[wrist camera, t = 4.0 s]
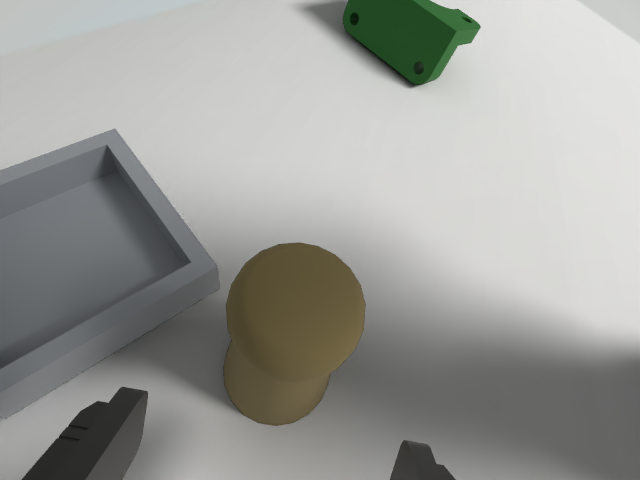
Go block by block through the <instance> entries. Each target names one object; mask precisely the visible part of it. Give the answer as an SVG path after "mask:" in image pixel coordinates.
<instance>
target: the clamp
mask: <svg viewBox="0 0 640 480" xmlns="http://www.w3.org/2000/svg"><path fill="white" fill-rule="evenodd" d="M343 24H344V27H345V29H346V31H347V32H348V33H349V34H351V35H352V36H353V37H354V38H356V39H357V40H358V41H359V42H361V43H362V44H363V45H365V46H366V47H367V48H368V49H370V50H371V51H372V52H374V53H375V54H376V55H377V56H379V57H380V58H381V59H383V60H384V61H385V62H386V63H388V64H389V65H390V66H391V67H393V68H394V69H395V70H397V71H398V72H399V73H400V74H402V75H403V76H404V77H406V78H407V79H408V80H409V81H411V82H412V83H414V84H423V83H426V82H430V81H433V80H435V79H437V78H438V77H439V76H440V74H441V73H442V71H443V70H444V68H445V66H446V65H447V63H448V61H449V60H450V58H451V56H452V55H453V53H454V51H455V50H456V48H457V46H458V45H463V44H468V43H471V42H472V40H473V39H474V37H475V36H476V34H477V32H478V31H479V29H480V25H479V24H478V23H477V22H476V21H475V20H473V19H472V18H471V17H469V16H468V15H466V14H465V13H463V12H462V11H460V10H459V9H448V8H445V7H442V6H440V5H438V4H436V3H434V2H432V1H430V0H348V3H347V6H346V8H345V11H344V14H343Z"/></svg>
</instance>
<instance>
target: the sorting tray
mask: <svg viewBox="0 0 640 480" xmlns="http://www.w3.org/2000/svg"><path fill="white" fill-rule="evenodd" d="M219 288H220V286H219V277H218V267H217V265H216V264H215V263H214V261H213V260H212V258H211V257H210V256H209V254H208V253H207V252H206V250H205V249H204V248H203V246H202V245H201V244H200V242H199V241H198V240H197V238H196V237H195V236H194V234H193V233H192V232H191V230H190V229H189V227H188V226H187V225H186V223H185V222H184V221H183V219H182V218H181V217H180V215H179V214H178V213H177V211H176V210H175V209H174V207H173V206H172V205H171V203H170V202H169V200H168V199H167V198H166V196H165V195H164V194H163V192H162V191H161V190H160V188H159V187H158V186H157V184H156V183H155V182H154V180H153V179H152V178H151V176H150V175H149V174H148V172H147V171H146V169H145V168H144V167H143V165H142V164H141V163H140V161H139V160H138V159H137V157H136V156H135V155H134V153H133V152H132V151H131V149H130V148H129V147H128V145H127V144H126V143H125V141H124V140H123V138H122V137H121V136H120V134H119V133H118V132H117V130H116V129H112V130H110V131H107V132H104V133H101V134H99V135H96V136H93V137H90V138H88V139H85V140H82V141H80V142H77V143H74V144H71V145H69V146H66V147H63V148H60V149H58V150H55V151H52V152H50V153H47V154H44V155H41V156H39V157H36V158H33V159H30V160H28V161H25V162H22V163H20V164H17V165H14V166H11V167H9V168H6V169H3V170H0V418H4V419H6V418H8V417H10V416H11V415H13V414H14V413H16V412H18V411H19V410H21V409H23V408H24V407H26V406H28V405H29V404H31V403H32V402H34V401H36V400H37V399H39V398H41V397H42V396H44V395H46V394H47V393H49V392H51V391H52V390H54V389H55V388H57V387H59V386H60V385H62V384H64V383H65V382H67V381H69V380H70V379H72V378H73V377H75V376H77V375H78V374H80V373H82V372H83V371H85V370H87V369H88V368H90V367H92V366H93V365H95V364H96V363H98V362H100V361H101V360H103V359H105V358H106V357H108V356H110V355H111V354H113V353H114V352H116V351H118V350H119V349H121V348H123V347H124V346H126V345H128V344H129V343H131V342H133V341H134V340H136V339H137V338H139V337H141V336H142V335H144V334H146V333H147V332H149V331H151V330H152V329H154V328H155V327H157V326H159V325H160V324H162V323H164V322H165V321H167V320H169V319H170V318H172V317H174V316H175V315H177V314H178V313H180V312H182V311H183V310H185V309H187V308H188V307H190V306H192V305H193V304H195V303H196V302H198V301H200V300H201V299H203V298H205V297H206V296H208V295H210V294H211V293H213V292H215V291H216V290H218V289H219Z"/></svg>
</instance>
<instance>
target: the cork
mask: <svg viewBox="0 0 640 480" xmlns="http://www.w3.org/2000/svg"><path fill="white" fill-rule="evenodd" d="M226 313H227V325H228V332H229V335H230V337H231V339H232V341H231V343H230V346H229V348H228V351H227V355H226V359H225V363H224V367H223V370H224V384H225V387H226V390H227V392H228V394H229V397H230V399H231V401H232V402H233V404H234V405H235V406H236V407H237V408H238V409H239V410H240V411H241V413H242V414H243V415H245V416H247V417H249V418H251V419H252V420H254V421H256V422H258V423H262V424H268V425H275V426H278V425H283V424H289V423H294V422H296V421H297V420H299V419H301V418H303V417H304V416H306V415H308V414H309V413H310V412H311V411H312V410H313V409H314V408H315V407H316V405H317V404H318V403H319V402H320V401H321V399H322V397H323V395H324V392H325V390H326V388H327V385H328V382H329V378H330V374H331V372H332V371H334V370H336V369H338V368H339V366H340V365H341V364H342V363H343V362H344V361H345V360H346V359H347V358H348V357H349V356H350V354H351V353H352V352H353V351H354V350H355V349H356V346H357V344H358V342H359V339H360V337H361V335H362V332H363V330H364V316H365V301H364V297H363V293H362V289H361V285H360V283H359V282H358V280H357V278H356V277H355V275H354V274H353V272H352V270H351V269H350V268H349V267H348V266H347V265H346V264H345V263H344V262H343V261H342V260H341V259H339V258H338V257H337V256H336V255H335V254H333V253H331V252H329V251H327V250H325V249H323V248H321V247H319V246H314V245H309V244H304V243H288V244H278V245H276V246H273V247H271V248H268V249H265V250H263V251H261V252H259V253H258V254H257V255H255V256H254V257H253V258H252V259H250V260H249V261H248V262H246V263H245V265H244V266H243V268H242V269H241V271H240V272H239V274H238V275H237V277H236V278H235V280H234V281H233V283H232V284H231V288H230V291H229V295H228V299H227V303H226Z"/></svg>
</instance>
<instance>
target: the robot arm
mask: <svg viewBox="0 0 640 480" xmlns="http://www.w3.org/2000/svg"><path fill="white" fill-rule="evenodd" d="M147 400H148V392H147V391H143V390H137V389H132V388H127V387H121V388H120V389H119V390H118V392H117V393H116V394H115V395H114V397H113V398H112V399H111V401H110V402H109V403H106V402H100V401H97V402H95V403H94V404H92V405H90V406H89V407H87V408H85V409H83V410H82V411H80V412H79V414H78V415H77V416H76V417H75V418H74V419H73V421H72V422H71V423H70V424H69V426H68V427H67V428H66V429H65V430H64V431H63V432H62V433H61V434H60V436H59V438H58V439H56V440H55V441H54V443H53V444H52V445H51V446H50V447H49V448H48V450H47V451H46V452H45V453H44V454H43V455H42V457H41V458H40V459H39V460H38V461H37V462H36V463H35V465H34V466H33V467H32V468H31V469H30V470H29V472H28V473H27V474H26V475H25V476H24V477H23V479H22V480H122V478H123V477H124V475H125V473H126V471H127V469H128V468H129V466H130V464H131V462H132V461H133V459H134V457H135V455H136V453H137V451H138V448H139V445H140V442H141V438H142V434H143V427H144V420H145V413H146V407H147ZM390 480H455V479H454V477H453V476H452V475H451V474H450V473H449V471H448V470H447V469H446V468H445V466H444V465H439V464H436V462H435V459H434V457H433V454H432V452H431V449H430V447H429V445H427V444H422V443H417V442H412V441H406V440H404V441H403V442H402V444H401V446H400V450H399V453H398V456H397V459H396V462H395V465H394V468H393V471H392V474H391V478H390Z"/></svg>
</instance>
